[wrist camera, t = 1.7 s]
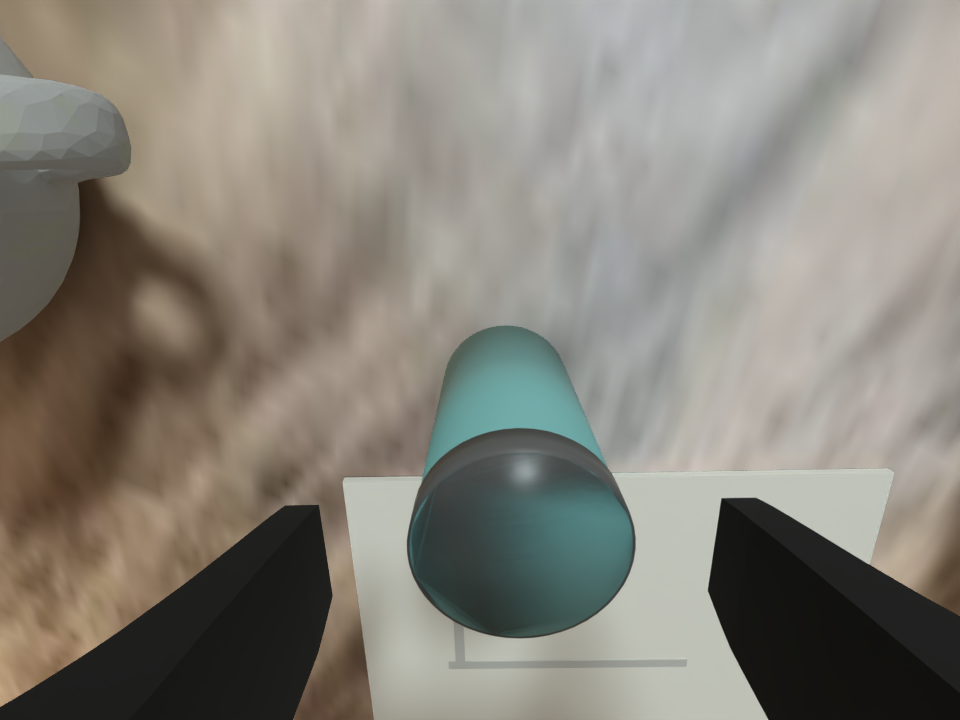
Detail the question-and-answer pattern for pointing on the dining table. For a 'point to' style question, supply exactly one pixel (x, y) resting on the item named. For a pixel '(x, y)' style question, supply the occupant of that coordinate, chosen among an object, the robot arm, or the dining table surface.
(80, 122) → the teacup
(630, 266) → the dining table surface
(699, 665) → the paper pad
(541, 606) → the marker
